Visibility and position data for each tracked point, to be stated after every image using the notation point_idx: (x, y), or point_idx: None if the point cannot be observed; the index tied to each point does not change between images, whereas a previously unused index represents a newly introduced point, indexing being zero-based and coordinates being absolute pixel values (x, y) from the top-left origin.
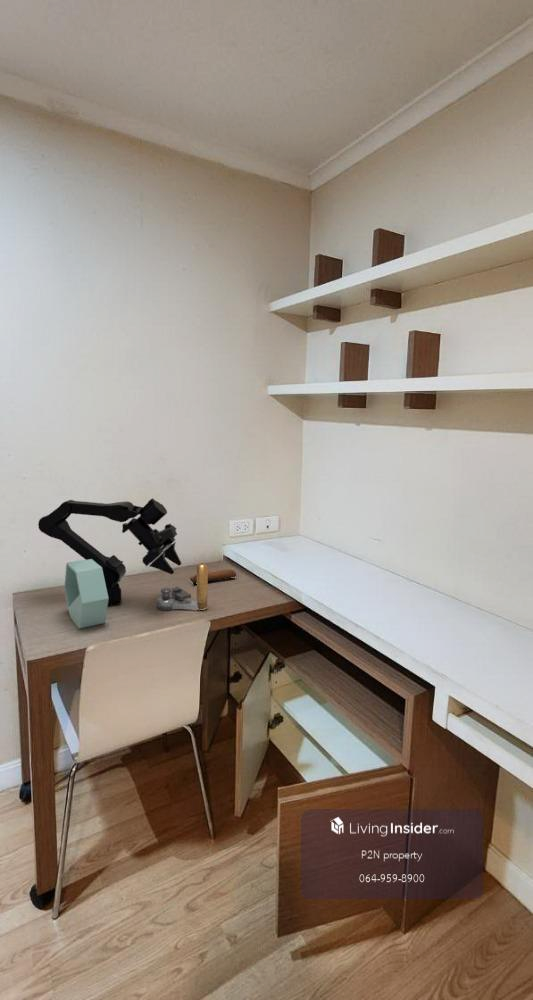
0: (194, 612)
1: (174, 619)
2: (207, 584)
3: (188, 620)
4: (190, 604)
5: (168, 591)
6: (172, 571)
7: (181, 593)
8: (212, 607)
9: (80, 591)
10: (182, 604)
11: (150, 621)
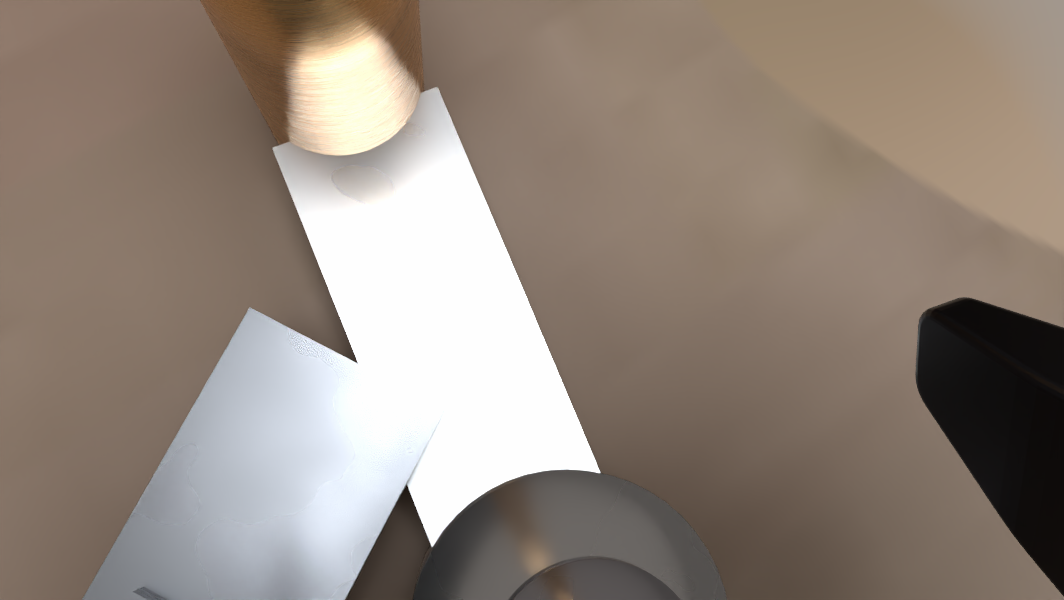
0: (500, 140)
1: (830, 250)
2: None
3: (762, 73)
4: (464, 208)
5: (640, 569)
6: (1021, 326)
7: (273, 502)
8: None
9: None
10: (526, 318)
11: None
